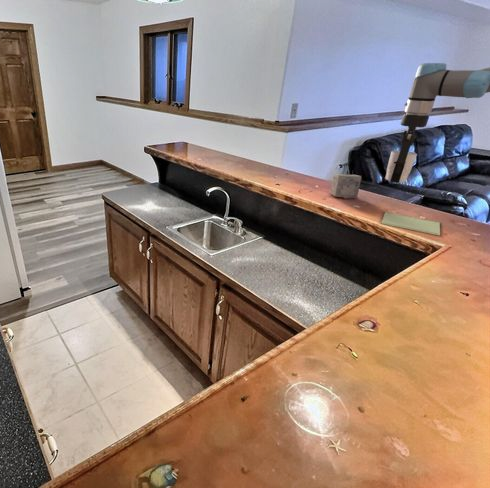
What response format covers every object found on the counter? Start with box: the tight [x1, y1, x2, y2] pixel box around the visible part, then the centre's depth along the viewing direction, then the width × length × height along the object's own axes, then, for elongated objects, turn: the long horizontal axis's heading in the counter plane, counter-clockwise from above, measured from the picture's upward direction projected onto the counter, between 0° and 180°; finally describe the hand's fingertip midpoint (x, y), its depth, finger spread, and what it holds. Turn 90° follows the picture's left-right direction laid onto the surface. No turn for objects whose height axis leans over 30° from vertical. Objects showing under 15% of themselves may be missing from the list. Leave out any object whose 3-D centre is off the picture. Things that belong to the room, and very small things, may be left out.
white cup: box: [384, 149, 418, 183], centre depth 127 cm, size 8×8×10 cm
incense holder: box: [329, 172, 362, 200], centre depth 156 cm, size 10×8×10 cm
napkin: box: [380, 211, 441, 237], centre depth 131 cm, size 18×14×1 cm
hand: (395, 179), depth 129 cm, fingers closed on white cup, 8 cm apart
